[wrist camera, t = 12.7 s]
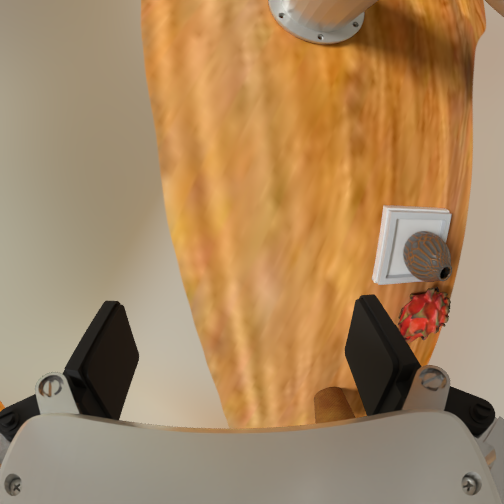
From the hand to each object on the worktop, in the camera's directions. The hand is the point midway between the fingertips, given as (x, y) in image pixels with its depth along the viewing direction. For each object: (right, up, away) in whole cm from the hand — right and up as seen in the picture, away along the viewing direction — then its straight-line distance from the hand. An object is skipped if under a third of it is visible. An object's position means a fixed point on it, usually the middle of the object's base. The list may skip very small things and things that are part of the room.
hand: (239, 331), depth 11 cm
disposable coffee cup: (+17, -28, +45) cm, 55 cm away
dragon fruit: (+30, -7, +35) cm, 47 cm away
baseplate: (+25, +4, +30) cm, 39 cm away
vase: (+25, +4, +29) cm, 39 cm away
